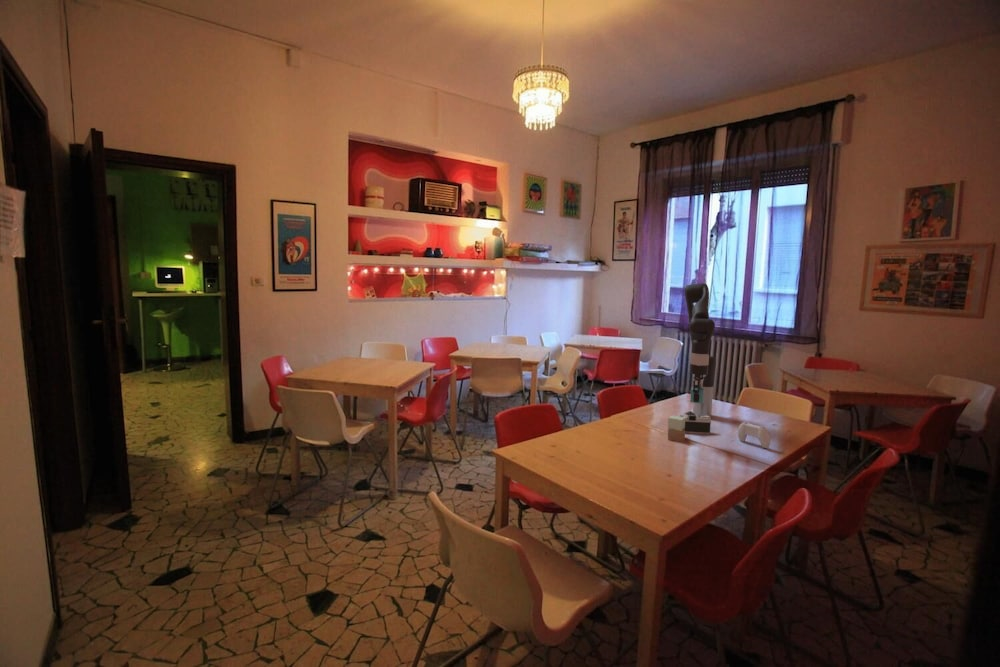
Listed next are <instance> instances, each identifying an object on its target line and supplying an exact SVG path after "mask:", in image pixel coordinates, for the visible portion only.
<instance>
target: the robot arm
mask: <svg viewBox="0 0 1000 667" xmlns="http://www.w3.org/2000/svg"><path fill="white" fill-rule="evenodd" d="M683 291H684V299H685V304H686V308H687V315H688V330H689V336H690V341H691V342H690V343H691V353H690V354H691V355H690V359H689V360H690V363H689V373H690V374H692V375H694V376H693V378H692V384H693V385H692V387H693V393H694V400H693V401H694V402H699V394H700V389H701V388H704V402H703V403H702V404H699V403H692V404H693V407H692V412H693V413H694V414H695V415H696V416H698V415H699V416H710V418H711V419H712V411H713V410H712V409H713V399H714V397H713V396H714V382H715V376H716V375H715V374H716V367H717V359H716V357H715V356H712V355H709V354H710V353H709V350H710V343H711V339H712V336H713V333H714V331H715V328H716V324H715V322H714V320H713V319H712V318H710V314H709V304H710V289H709V286H708V284H707V283H705V282H704V283H702V282H700V283H693V284H687V285H686V286H685V287H684V290H683ZM695 389H698V390H695Z"/></svg>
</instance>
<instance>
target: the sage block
mask: <svg viewBox="0 0 1000 667" xmlns="http://www.w3.org/2000/svg"><path fill="white" fill-rule="evenodd" d="M667 420H668V422H667V430H668V429H673V430H679V431H682V430H683V429H684V428H685V417H680V415H670V416H668V419H667Z"/></svg>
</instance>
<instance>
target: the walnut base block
mask: <svg viewBox="0 0 1000 667" xmlns="http://www.w3.org/2000/svg"><path fill="white" fill-rule="evenodd" d="M685 437H686V433H685V428H684V429H683V430H682V431H679V430H673V429H668V428H667V440H669V441H674V442H675V441H676V442H682V443H683V442H685Z"/></svg>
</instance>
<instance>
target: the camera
mask: <svg viewBox="0 0 1000 667" xmlns="http://www.w3.org/2000/svg"><path fill="white" fill-rule="evenodd" d="M679 416H680V417H685V434H686V433H690V434H705V433H706V434H711V426H712V425H711V424H712V417H711V418H710V416H699V415H698V416H696V415H695V414H694V413H693V411H691V410H689V411H686V412H684V413H683V414H679ZM706 434H705V435H706Z"/></svg>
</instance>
